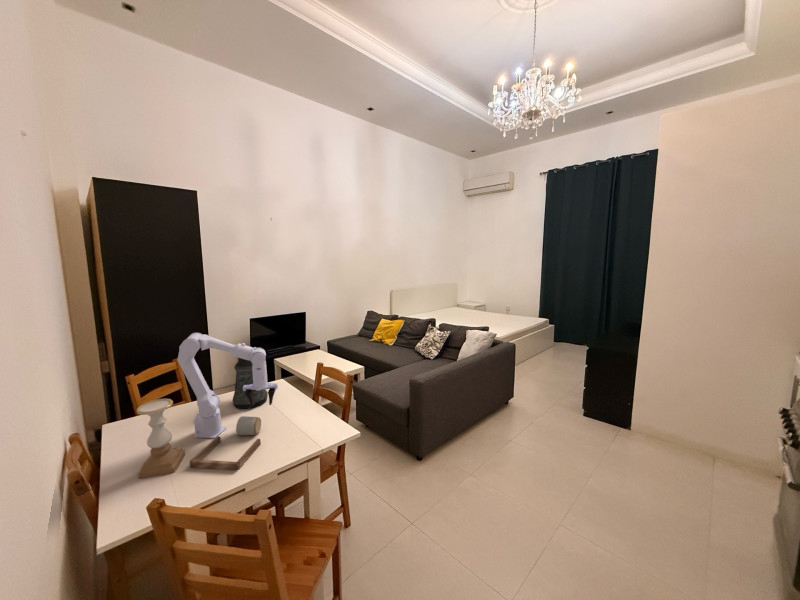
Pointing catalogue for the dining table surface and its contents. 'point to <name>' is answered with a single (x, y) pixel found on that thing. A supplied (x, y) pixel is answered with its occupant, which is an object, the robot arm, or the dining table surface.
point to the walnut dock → (222, 465)
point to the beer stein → (246, 378)
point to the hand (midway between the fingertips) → (262, 404)
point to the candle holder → (159, 441)
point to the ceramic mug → (248, 425)
